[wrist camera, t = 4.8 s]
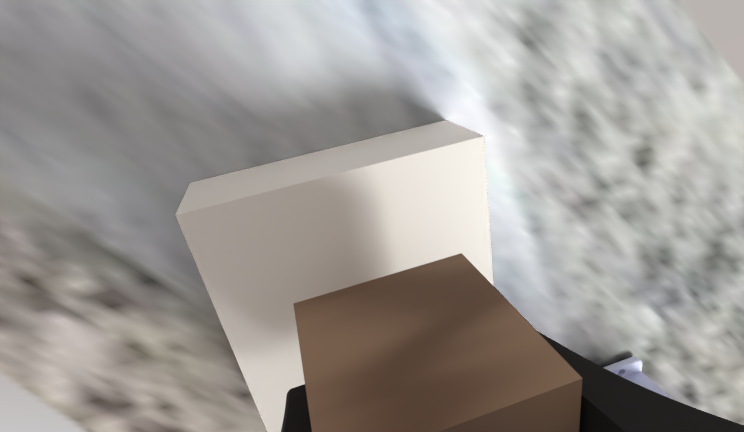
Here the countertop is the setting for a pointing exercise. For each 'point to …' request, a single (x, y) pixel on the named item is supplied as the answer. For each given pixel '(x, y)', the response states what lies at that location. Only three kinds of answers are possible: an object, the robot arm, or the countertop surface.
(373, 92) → the countertop surface
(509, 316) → the walnut cube
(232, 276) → the cream plinth
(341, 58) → the countertop surface
